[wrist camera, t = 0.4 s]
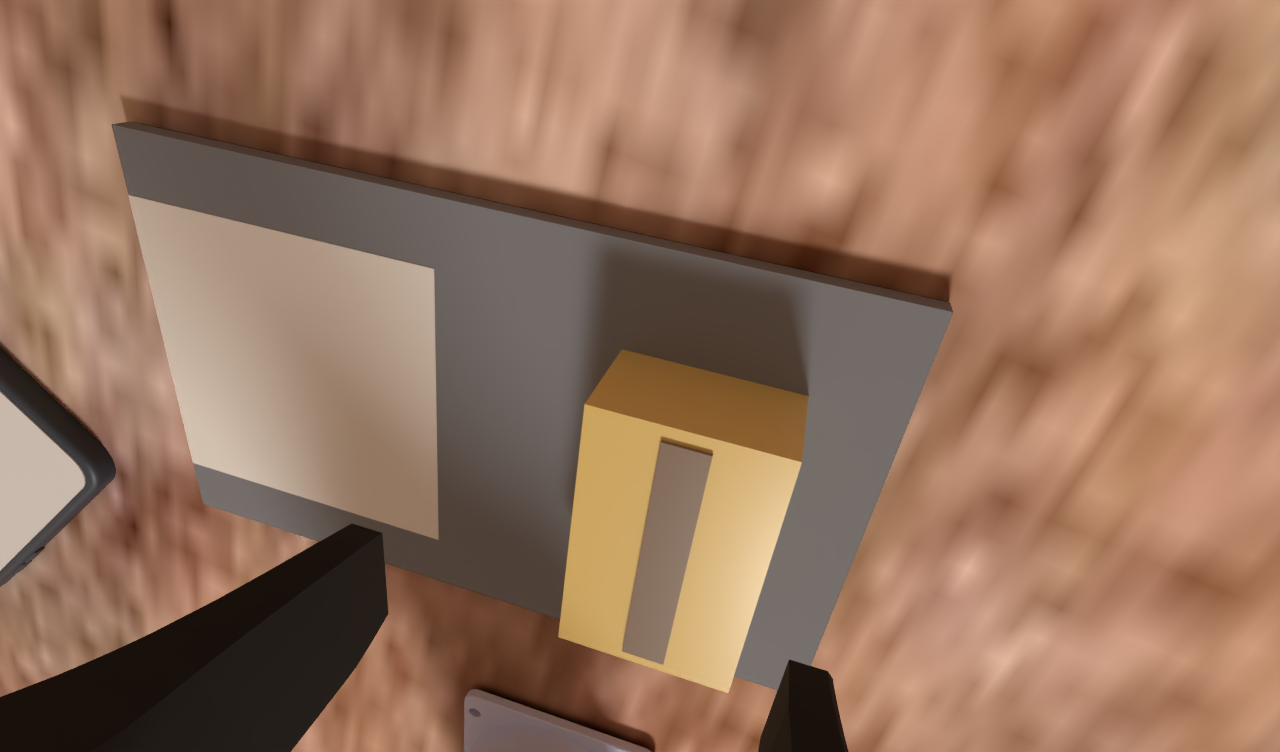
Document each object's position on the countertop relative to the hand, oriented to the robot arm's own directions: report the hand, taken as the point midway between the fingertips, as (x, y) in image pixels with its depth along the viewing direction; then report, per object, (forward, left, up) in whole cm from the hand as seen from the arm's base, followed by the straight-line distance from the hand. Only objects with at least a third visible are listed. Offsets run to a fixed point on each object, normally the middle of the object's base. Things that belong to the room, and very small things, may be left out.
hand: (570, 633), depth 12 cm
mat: (-3, +6, -9) cm, 11 cm away
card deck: (-3, -1, -8) cm, 9 cm away
